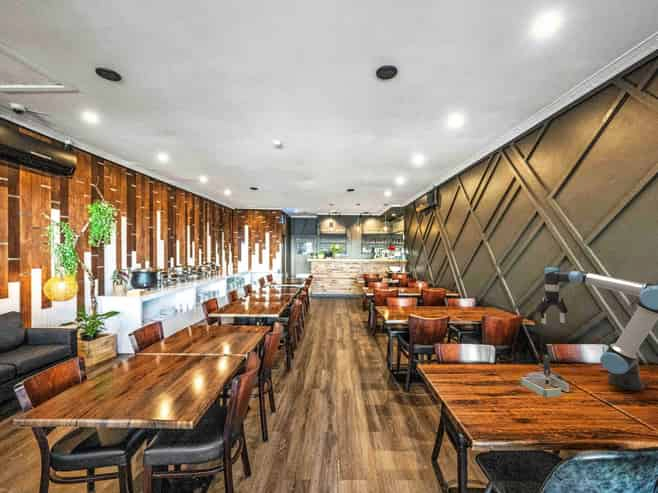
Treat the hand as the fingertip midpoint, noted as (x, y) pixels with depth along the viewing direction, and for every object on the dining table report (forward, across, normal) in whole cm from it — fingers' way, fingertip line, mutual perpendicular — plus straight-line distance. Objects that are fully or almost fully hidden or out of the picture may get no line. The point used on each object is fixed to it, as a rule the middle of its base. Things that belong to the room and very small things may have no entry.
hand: (553, 323), depth 196 cm
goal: (+33, +30, +21) cm, 49 cm away
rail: (+33, +18, +10) cm, 39 cm away
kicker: (+32, +15, +16) cm, 39 cm away
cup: (+33, +29, +20) cm, 48 cm away
